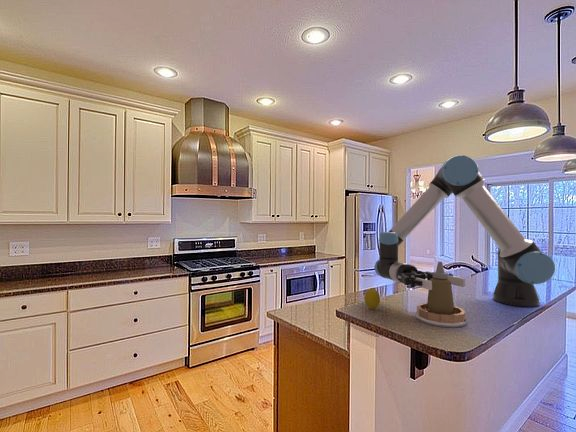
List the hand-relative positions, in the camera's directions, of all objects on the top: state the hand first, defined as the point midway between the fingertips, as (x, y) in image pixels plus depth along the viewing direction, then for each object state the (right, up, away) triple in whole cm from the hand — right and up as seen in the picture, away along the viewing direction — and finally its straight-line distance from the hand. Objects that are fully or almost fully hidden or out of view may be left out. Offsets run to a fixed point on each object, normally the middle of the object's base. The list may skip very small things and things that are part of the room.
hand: (448, 284), depth 99 cm
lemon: (-21, -13, +14) cm, 28 cm away
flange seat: (-1, -12, +3) cm, 13 cm away
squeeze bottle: (-1, -11, +3) cm, 12 cm away
